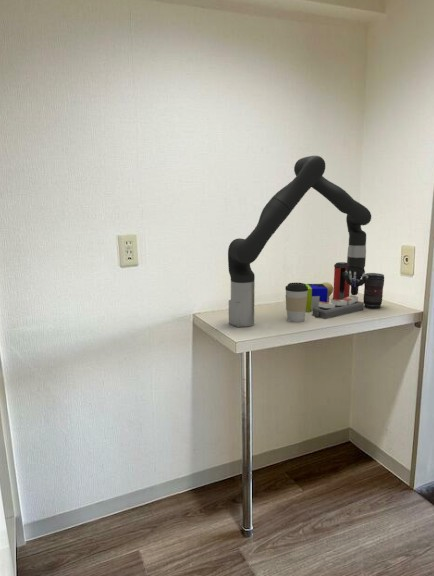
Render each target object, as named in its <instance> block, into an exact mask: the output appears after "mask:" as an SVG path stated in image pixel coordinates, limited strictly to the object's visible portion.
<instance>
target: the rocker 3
mask: <svg viewBox="0 0 434 576" xmlns="http://www.w3.org/2000/svg"><path fill="white" fill-rule="evenodd" d="M343 300H344V301H347V304H348V305H350V304H353V303H355V302H357V301H359V296H357V295H351V294H350V295H349V297H347V298H344V299H343Z"/></svg>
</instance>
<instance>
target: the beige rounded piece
mask: <svg viewBox="0 0 434 576" xmlns="http://www.w3.org/2000/svg"><path fill="white" fill-rule="evenodd" d="M321 284H323V285H324V286H325V287H326V288H328V292H327V303H330V297H331V296H332V295H333V289H334V285H333V284H331V283H329V282H322V283H321Z"/></svg>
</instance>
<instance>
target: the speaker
mask: <svg viewBox="0 0 434 576" xmlns="http://www.w3.org/2000/svg"><path fill="white" fill-rule="evenodd" d="M333 267H334V269H333V271H334V273H333V274H334V275H333V292H332V299H336V300H343V299H344V298H347V297H349V296H350V294H351V286H350V285H349V284H347V282H346V280H345V278H344V276H343V274H342V273H343V272H345V271H347V268H348V266H347V262H344V261H343V262H335V264H334V266H333Z"/></svg>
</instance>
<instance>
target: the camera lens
mask: <svg viewBox="0 0 434 576" xmlns="http://www.w3.org/2000/svg"><path fill="white" fill-rule="evenodd" d="M365 274H366V275H368V276H369V278H368V280H367V281H366V282H365V283H364V284H363V286H364V288H363V303H364V306H363V308H366V309H370V310H371V309H372V310H375V309H376V310H378V309H380V308H381V305H382V301H383V296H384V295H383V294H384V293H383V292H384V285H385V274H383V273H376V272H367V273H366V272H365Z"/></svg>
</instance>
